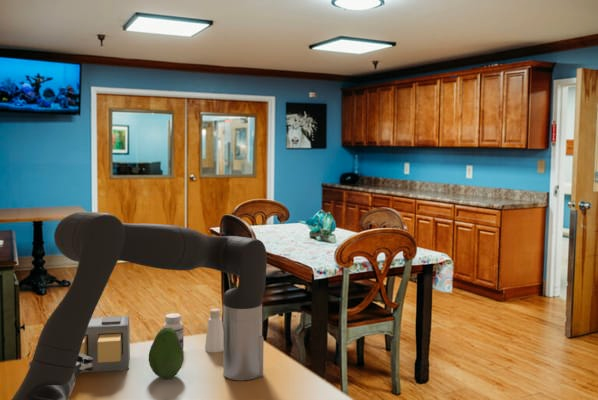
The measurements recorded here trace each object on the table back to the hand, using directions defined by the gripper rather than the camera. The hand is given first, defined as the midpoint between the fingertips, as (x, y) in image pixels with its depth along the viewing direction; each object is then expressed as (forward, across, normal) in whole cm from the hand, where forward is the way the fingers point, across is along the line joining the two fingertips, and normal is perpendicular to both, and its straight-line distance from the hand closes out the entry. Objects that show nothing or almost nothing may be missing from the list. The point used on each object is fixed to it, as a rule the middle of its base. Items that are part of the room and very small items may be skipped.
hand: (67, 351), depth 130 cm
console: (+14, -4, +9) cm, 17 cm away
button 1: (+9, 0, +5) cm, 10 cm away
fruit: (+3, -21, +9) cm, 23 cm away
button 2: (+9, -8, +5) cm, 13 cm away
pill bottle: (+21, -23, +9) cm, 33 cm away
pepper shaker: (+20, -34, +8) cm, 41 cm away
